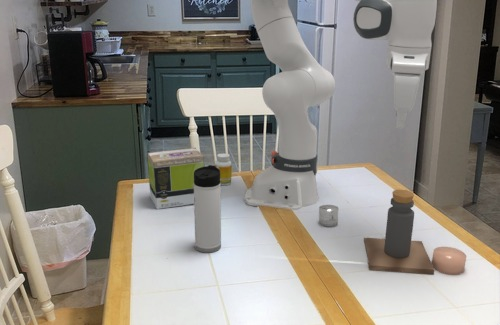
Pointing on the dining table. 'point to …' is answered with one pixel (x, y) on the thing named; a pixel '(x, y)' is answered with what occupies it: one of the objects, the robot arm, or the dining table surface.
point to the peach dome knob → (448, 260)
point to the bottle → (399, 224)
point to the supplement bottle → (224, 168)
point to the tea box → (173, 176)
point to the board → (384, 262)
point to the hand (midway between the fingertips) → (399, 122)
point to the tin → (328, 215)
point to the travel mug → (207, 209)
